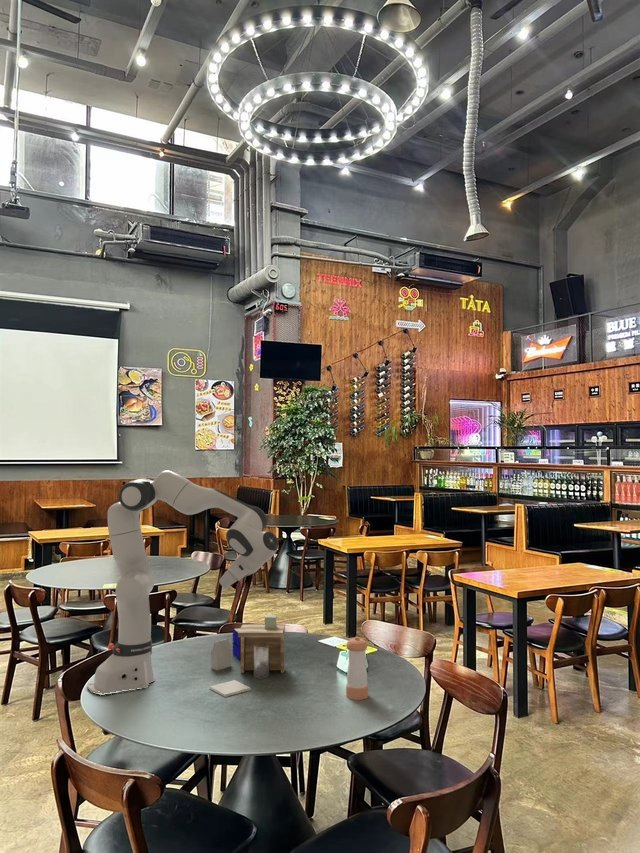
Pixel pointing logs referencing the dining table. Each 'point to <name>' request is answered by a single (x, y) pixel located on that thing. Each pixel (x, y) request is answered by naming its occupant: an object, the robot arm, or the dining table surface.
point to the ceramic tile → (229, 688)
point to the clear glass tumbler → (261, 660)
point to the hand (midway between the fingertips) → (232, 577)
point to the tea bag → (221, 655)
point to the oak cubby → (261, 635)
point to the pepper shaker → (357, 670)
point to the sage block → (270, 622)
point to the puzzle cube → (236, 644)
